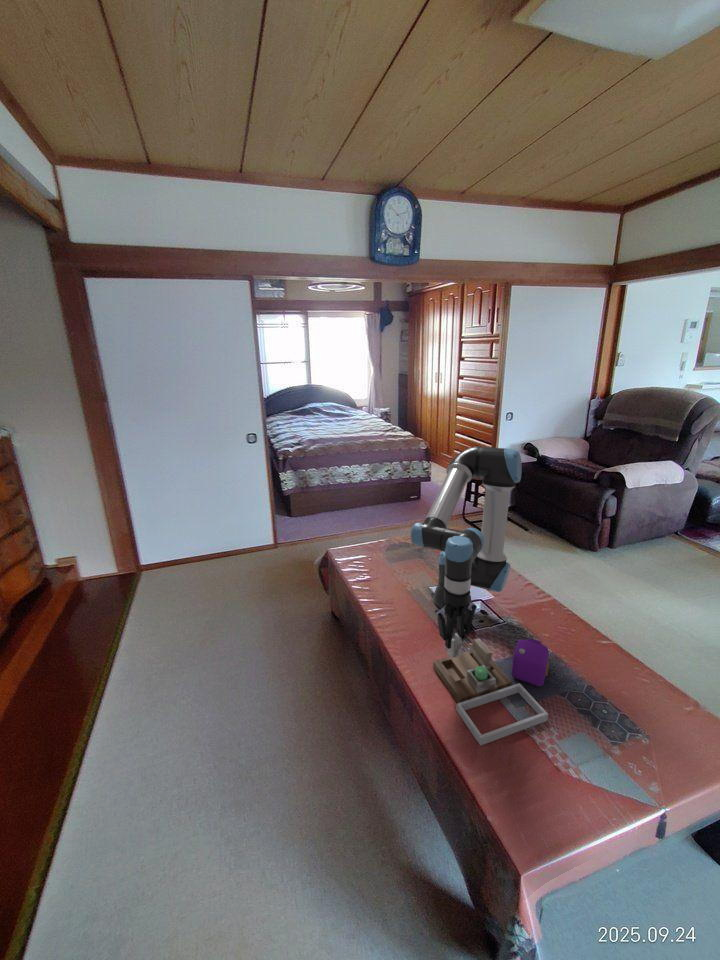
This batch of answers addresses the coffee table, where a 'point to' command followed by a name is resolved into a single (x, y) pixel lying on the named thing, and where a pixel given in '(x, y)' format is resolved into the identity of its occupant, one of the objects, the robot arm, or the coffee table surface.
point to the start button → (481, 673)
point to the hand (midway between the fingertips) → (453, 654)
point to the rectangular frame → (507, 729)
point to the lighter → (457, 646)
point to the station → (471, 673)
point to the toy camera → (530, 662)
